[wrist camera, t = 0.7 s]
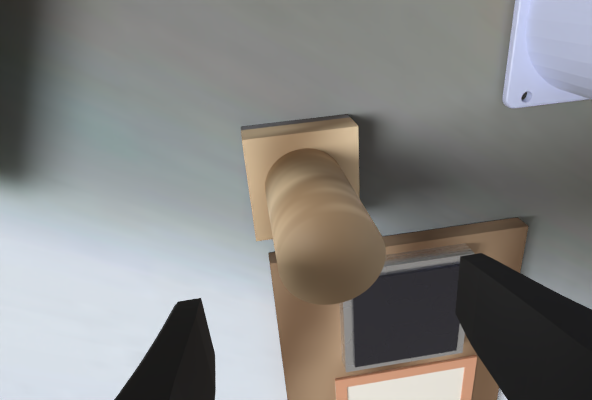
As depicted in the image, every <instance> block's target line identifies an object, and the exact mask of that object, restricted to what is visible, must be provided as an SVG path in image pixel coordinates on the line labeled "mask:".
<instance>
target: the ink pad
mask: <svg viewBox="0 0 592 400" xmlns="http://www.w3.org/2000/svg"><path fill="white" fill-rule="evenodd" d="M472 254H475V253H474V252H473V251H472V250H471V249H470V248H469V247H468V245H467V244H466V243H463V244H456V245H450V246H443V247H436V248H429V249H422V250H415V251H409V252H402V253H395V254H388V255H386V258H385V263H384V267H383V269H382V271H381V273H380V275H379V277H378V278H377V280H376V281H375V282H374V283H373V284H372V286H371V287H370V288H368V289H367V290H366V291H365V292H363V293H362V294H361V295H359V296H357V297H355V298H353V299H351V300H349V301H346V302H343V303H339V306H340V328H341V349H342V361H343V364H344V368H345V371H346V372H351V371H357V370H363V369H369V368H375V367H381V366H387V365H393V364H399V363H405V362H411V361H417V360H423V359H429V358H435V357H441V356H447V355H453V354H459V353H462V352H463V344H464V336H465V332H464V330H463V328H462V326H461V324H460V322H459V320H458V318H457V316H456V314H455V311H456V300H457V288H458V277H459V266H460V256H465V255H472Z"/></svg>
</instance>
